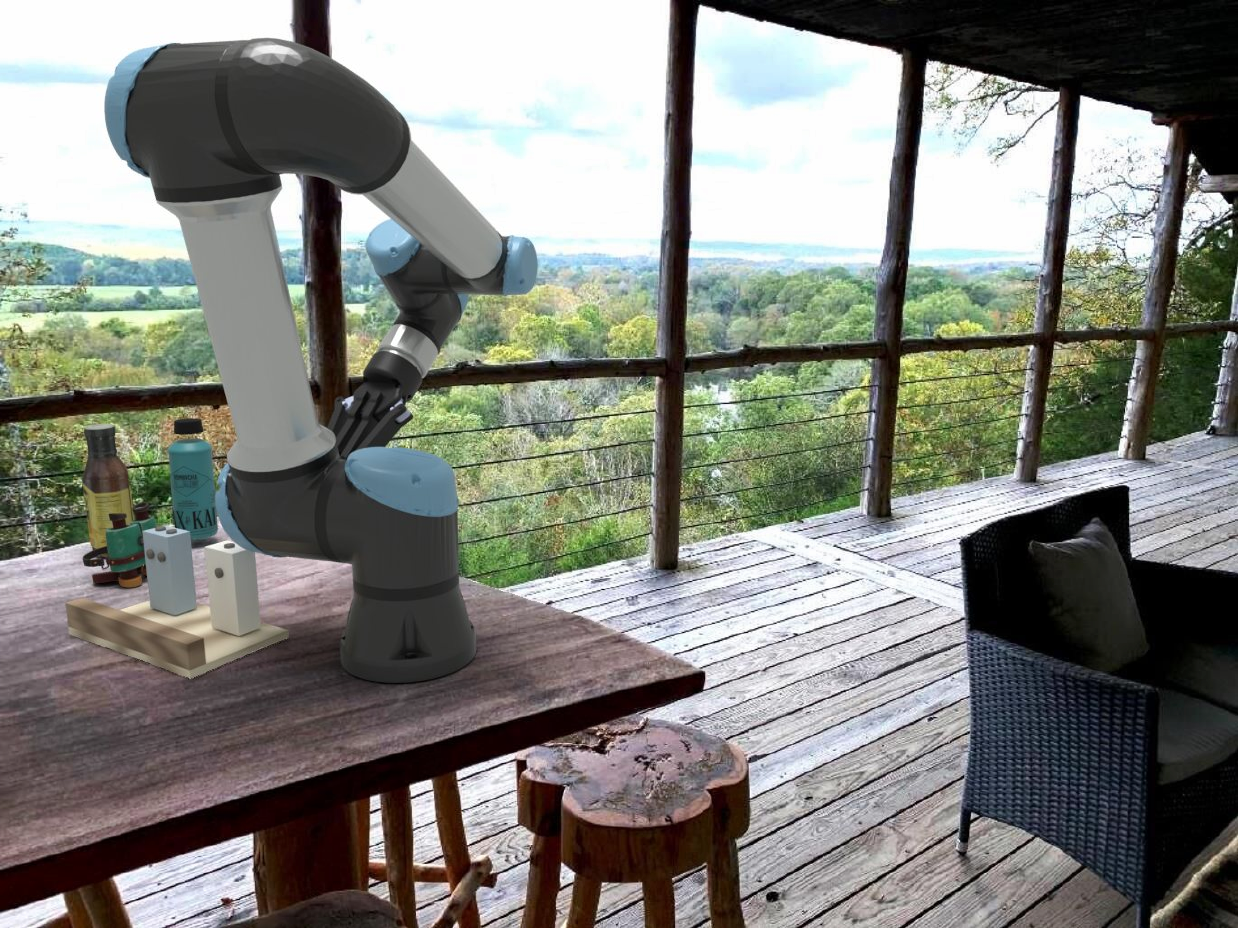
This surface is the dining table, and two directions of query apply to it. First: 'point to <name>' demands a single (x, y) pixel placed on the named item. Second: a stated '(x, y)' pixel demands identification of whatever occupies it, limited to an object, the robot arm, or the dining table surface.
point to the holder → (165, 635)
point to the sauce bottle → (104, 483)
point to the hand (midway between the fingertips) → (312, 507)
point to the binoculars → (123, 548)
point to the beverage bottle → (192, 482)
